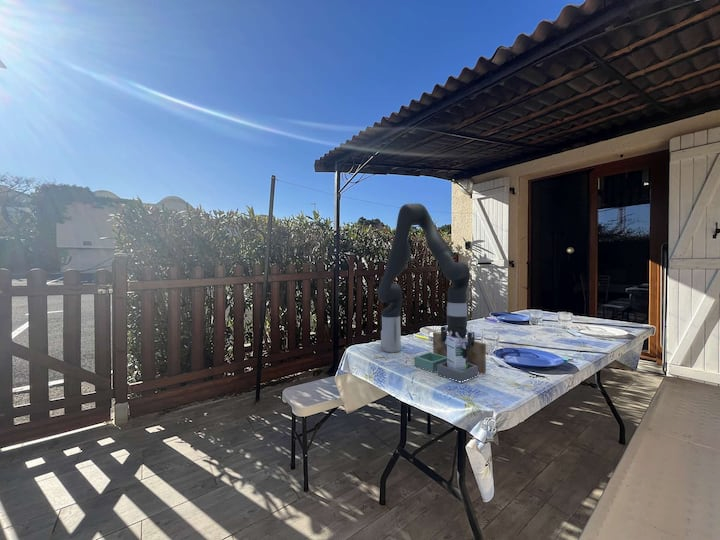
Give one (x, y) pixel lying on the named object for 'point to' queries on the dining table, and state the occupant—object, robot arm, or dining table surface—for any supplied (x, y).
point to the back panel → (475, 354)
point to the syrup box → (455, 354)
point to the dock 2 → (457, 372)
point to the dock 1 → (429, 361)
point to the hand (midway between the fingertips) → (457, 355)
